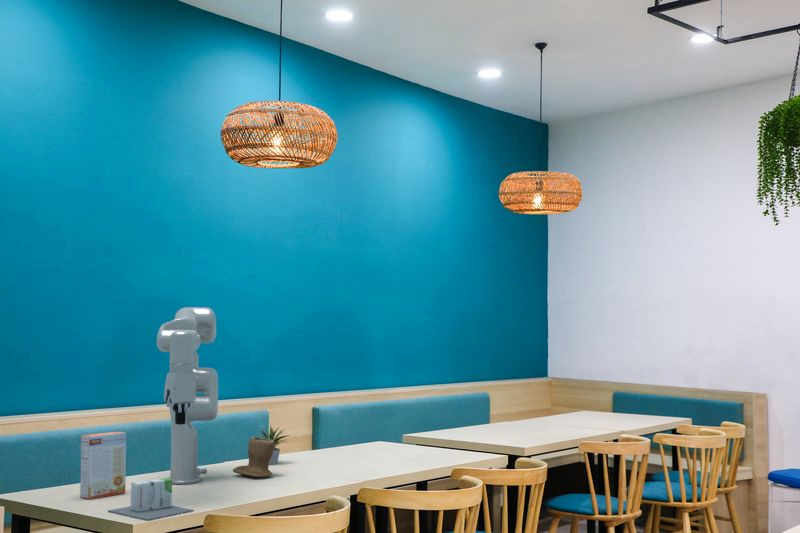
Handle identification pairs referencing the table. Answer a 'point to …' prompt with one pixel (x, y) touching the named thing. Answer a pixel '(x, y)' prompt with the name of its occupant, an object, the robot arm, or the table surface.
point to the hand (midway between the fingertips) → (180, 423)
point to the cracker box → (103, 464)
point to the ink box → (151, 495)
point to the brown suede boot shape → (257, 458)
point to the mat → (150, 512)
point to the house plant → (276, 450)
